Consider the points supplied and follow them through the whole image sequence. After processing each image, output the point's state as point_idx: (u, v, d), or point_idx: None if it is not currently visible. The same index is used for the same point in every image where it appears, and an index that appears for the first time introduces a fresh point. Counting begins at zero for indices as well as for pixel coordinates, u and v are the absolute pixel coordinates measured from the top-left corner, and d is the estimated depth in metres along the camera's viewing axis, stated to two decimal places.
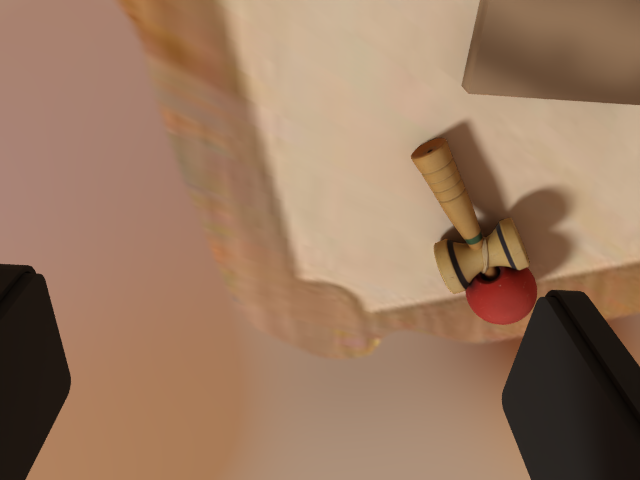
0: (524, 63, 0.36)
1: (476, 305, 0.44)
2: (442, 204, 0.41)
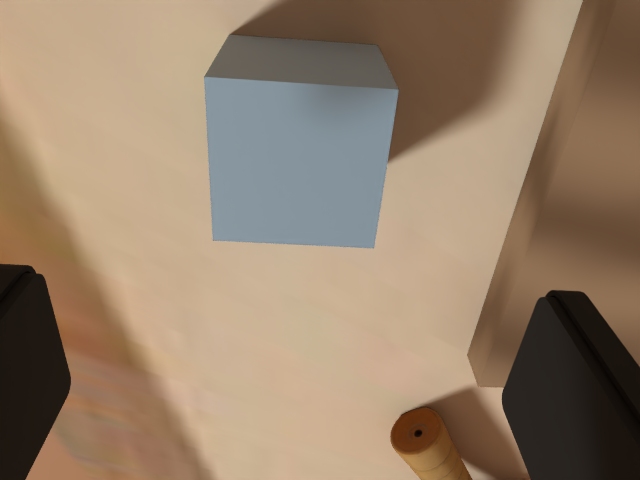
0: None
1: None
2: None
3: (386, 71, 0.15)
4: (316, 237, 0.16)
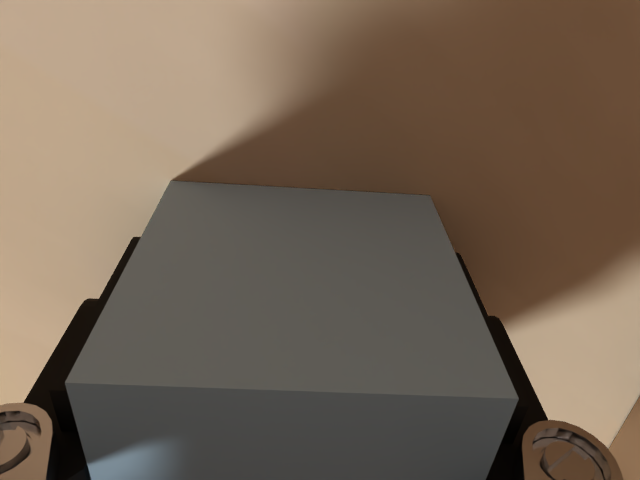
0: None
1: None
2: None
3: (469, 303, 0.07)
4: None
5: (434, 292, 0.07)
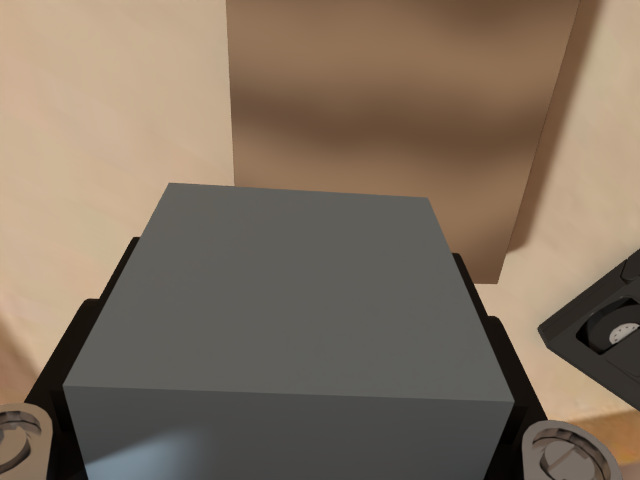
0: None
1: None
2: None
3: (466, 306, 0.07)
4: None
5: (431, 295, 0.07)
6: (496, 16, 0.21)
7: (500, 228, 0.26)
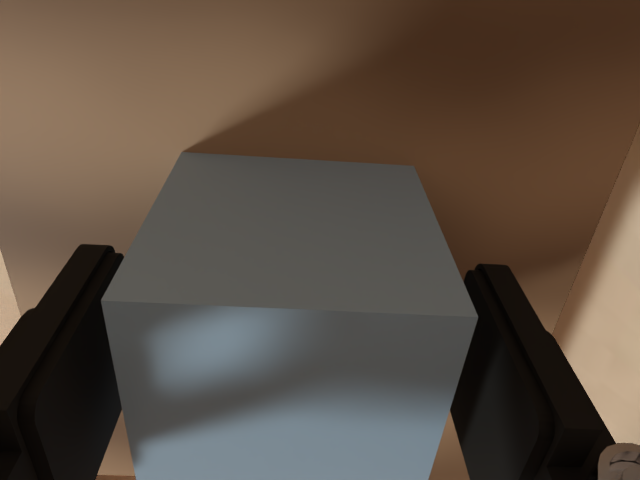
0: None
1: None
2: None
3: (442, 248, 0.08)
4: None
5: (412, 240, 0.09)
6: (497, 84, 0.10)
7: None
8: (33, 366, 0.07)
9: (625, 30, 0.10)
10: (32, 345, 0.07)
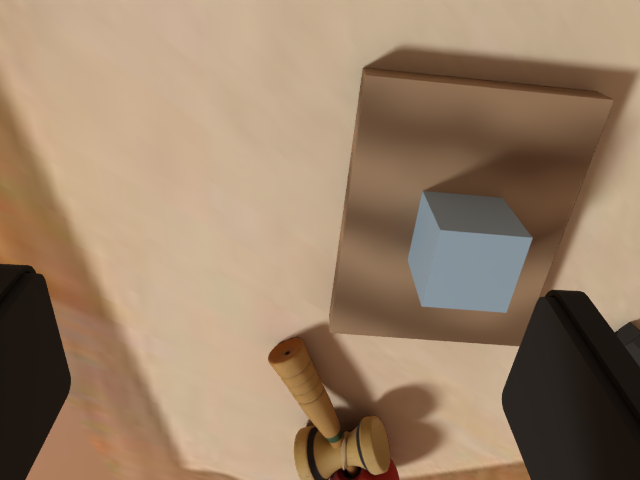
0: (382, 309, 0.36)
1: None
2: (299, 404, 0.40)
3: (519, 222, 0.29)
4: (476, 306, 0.29)
5: (510, 220, 0.29)
6: (533, 171, 0.31)
7: (525, 306, 0.36)
8: None
9: (575, 156, 0.30)
10: None
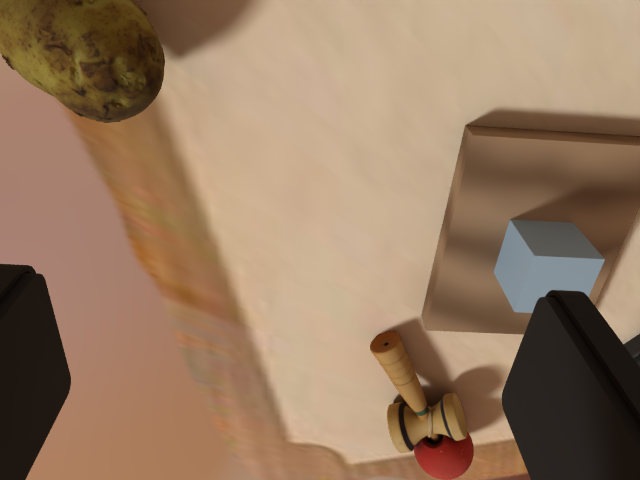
0: (470, 311, 0.44)
1: (421, 463, 0.51)
2: (395, 385, 0.48)
3: (592, 246, 0.37)
4: None
5: (584, 244, 0.37)
6: (599, 202, 0.39)
7: None
8: None
9: (633, 190, 0.38)
10: None
